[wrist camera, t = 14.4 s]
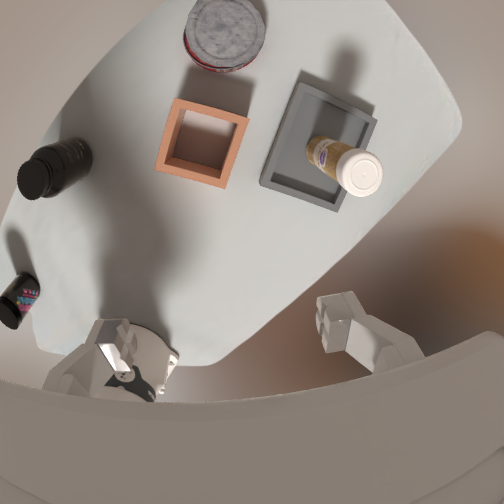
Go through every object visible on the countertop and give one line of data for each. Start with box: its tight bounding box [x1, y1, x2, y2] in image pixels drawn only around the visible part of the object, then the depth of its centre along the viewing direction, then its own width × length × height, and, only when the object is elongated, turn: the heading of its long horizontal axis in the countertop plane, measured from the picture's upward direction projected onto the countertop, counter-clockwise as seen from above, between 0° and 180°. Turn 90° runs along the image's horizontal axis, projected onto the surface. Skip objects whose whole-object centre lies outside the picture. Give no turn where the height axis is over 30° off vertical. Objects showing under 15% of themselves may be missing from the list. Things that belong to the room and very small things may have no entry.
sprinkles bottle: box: [306, 135, 383, 197], centre depth 29 cm, size 5×5×13 cm
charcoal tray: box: [259, 82, 377, 213], centre depth 35 cm, size 15×12×2 cm
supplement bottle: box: [17, 138, 92, 200], centre depth 28 cm, size 7×7×12 cm
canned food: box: [183, 0, 265, 72], centre depth 25 cm, size 11×10×10 cm
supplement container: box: [0, 272, 40, 330], centre depth 38 cm, size 7×7×10 cm
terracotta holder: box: [154, 98, 249, 189], centre depth 32 cm, size 9×9×5 cm
